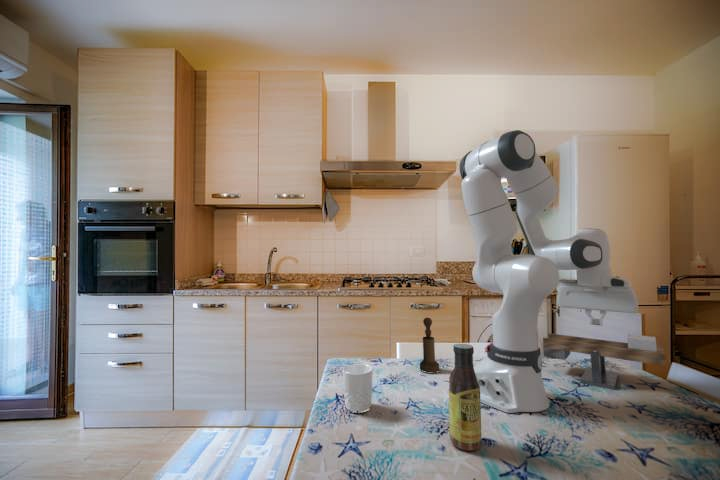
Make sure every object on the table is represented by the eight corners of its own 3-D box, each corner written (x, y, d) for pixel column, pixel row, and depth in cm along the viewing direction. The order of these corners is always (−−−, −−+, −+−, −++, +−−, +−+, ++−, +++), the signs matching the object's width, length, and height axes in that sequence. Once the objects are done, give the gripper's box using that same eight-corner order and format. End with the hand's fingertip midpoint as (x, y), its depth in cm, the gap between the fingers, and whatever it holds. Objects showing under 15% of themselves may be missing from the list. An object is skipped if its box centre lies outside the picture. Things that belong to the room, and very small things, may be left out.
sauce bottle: (464, 456, 60) (459, 351, 61) (443, 439, 65) (439, 344, 67) (490, 447, 62) (484, 347, 64) (467, 432, 68) (463, 340, 69)
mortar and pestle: (442, 369, 108) (439, 316, 109) (435, 375, 102) (433, 320, 104) (423, 366, 111) (421, 315, 113) (417, 371, 106) (415, 318, 107)
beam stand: (580, 382, 93) (578, 350, 94) (587, 370, 103) (585, 341, 104) (614, 389, 88) (611, 355, 88) (618, 375, 98) (615, 345, 99)
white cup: (377, 404, 83) (376, 365, 83) (366, 417, 75) (364, 375, 76) (351, 399, 86) (350, 362, 87) (337, 412, 79) (337, 371, 80)
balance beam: (543, 356, 102) (542, 335, 102) (550, 350, 109) (549, 330, 110) (666, 377, 82) (664, 351, 83) (665, 368, 89) (663, 343, 90)
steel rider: (628, 353, 89) (627, 337, 89) (629, 349, 93) (628, 334, 94) (657, 357, 85) (655, 341, 85) (656, 352, 89) (655, 337, 90)
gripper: (553, 279, 102) (555, 321, 101) (636, 281, 88) (639, 331, 87) (557, 278, 107) (559, 319, 106) (636, 281, 93) (640, 327, 92)
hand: (596, 324), depth 96 cm, fingers closed
